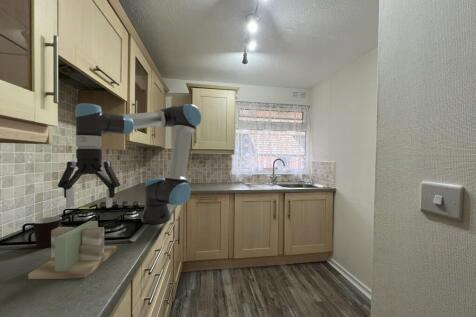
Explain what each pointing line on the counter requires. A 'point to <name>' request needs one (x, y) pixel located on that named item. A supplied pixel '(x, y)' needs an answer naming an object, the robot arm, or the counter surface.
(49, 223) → the coffee mug
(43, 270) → the slotted base
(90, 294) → the counter surface
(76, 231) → the sage slotted plate
